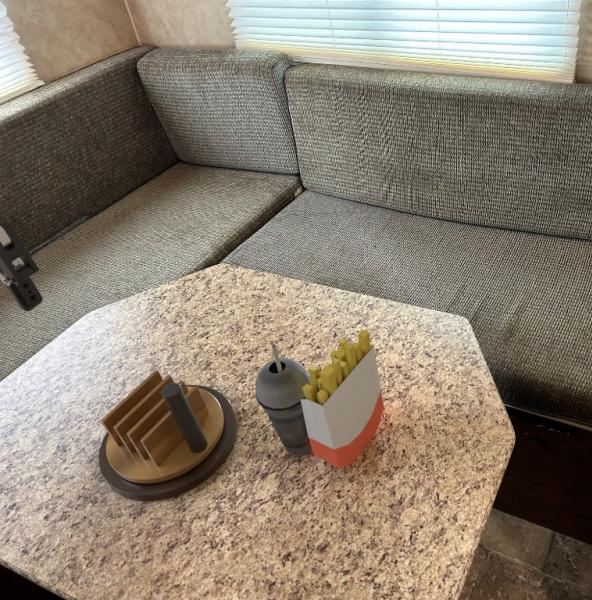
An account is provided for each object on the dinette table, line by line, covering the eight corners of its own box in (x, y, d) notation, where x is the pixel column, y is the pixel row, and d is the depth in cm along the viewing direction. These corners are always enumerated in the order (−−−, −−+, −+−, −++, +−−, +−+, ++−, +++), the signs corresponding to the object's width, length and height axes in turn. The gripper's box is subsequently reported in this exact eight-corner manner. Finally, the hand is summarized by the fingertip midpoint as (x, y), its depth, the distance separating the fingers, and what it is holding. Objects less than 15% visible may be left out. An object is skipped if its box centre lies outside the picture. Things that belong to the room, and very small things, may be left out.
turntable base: (136, 529, 77) (132, 523, 76) (82, 443, 88) (77, 437, 87) (263, 439, 86) (260, 433, 85) (198, 372, 97) (195, 365, 96)
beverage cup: (309, 413, 88) (279, 311, 75) (337, 443, 84) (311, 340, 71) (265, 442, 85) (227, 340, 72) (293, 475, 81) (257, 373, 68)
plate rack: (84, 457, 84) (41, 398, 76) (167, 377, 94) (138, 318, 86) (166, 502, 77) (129, 442, 69) (247, 411, 87) (223, 350, 79)
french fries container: (314, 464, 82) (286, 374, 70) (359, 408, 88) (341, 317, 77) (342, 478, 80) (318, 388, 68) (386, 420, 86) (371, 328, 75)
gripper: (-166, 168, 56) (-63, 301, 66) (-77, 194, 50) (20, 336, 60) (-86, 133, 61) (-2, 262, 71) (3, 153, 55) (80, 291, 65)
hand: (8, 296), depth 66 cm, fingers open, 8 cm apart
